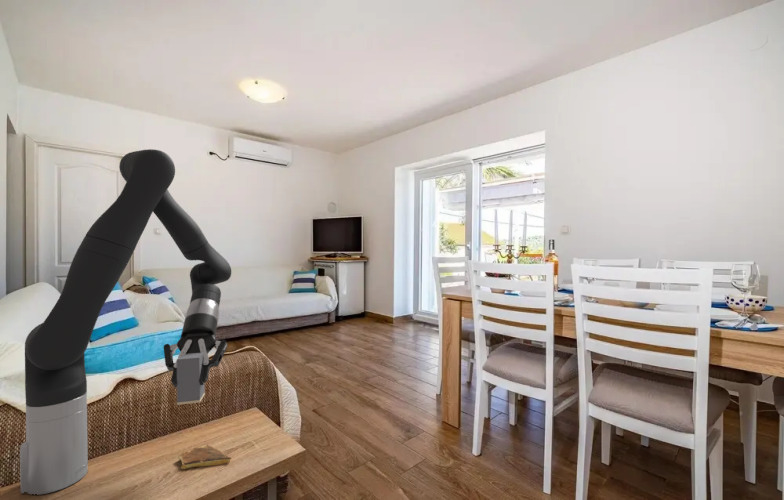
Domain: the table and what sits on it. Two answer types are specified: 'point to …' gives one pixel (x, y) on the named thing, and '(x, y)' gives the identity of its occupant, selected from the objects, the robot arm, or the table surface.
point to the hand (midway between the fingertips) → (188, 384)
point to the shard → (202, 457)
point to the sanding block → (189, 378)
